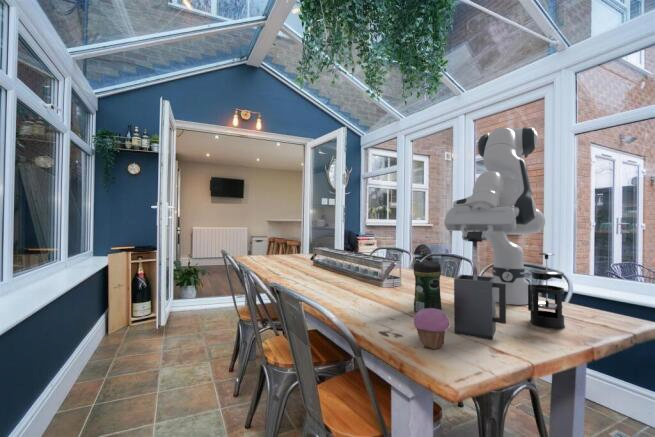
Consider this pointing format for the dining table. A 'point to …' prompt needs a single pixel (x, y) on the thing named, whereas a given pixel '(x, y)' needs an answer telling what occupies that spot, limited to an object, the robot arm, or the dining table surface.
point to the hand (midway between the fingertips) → (474, 238)
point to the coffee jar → (427, 285)
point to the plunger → (474, 248)
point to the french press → (546, 317)
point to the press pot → (478, 306)
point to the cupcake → (431, 327)
